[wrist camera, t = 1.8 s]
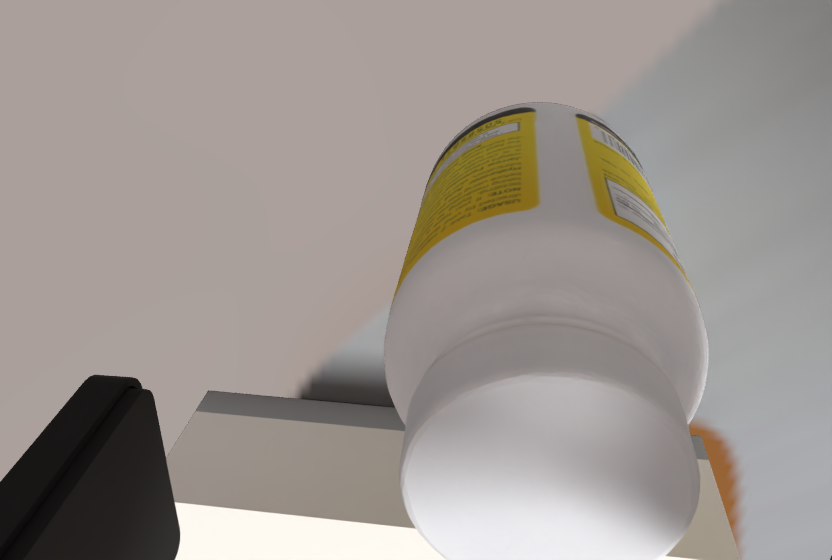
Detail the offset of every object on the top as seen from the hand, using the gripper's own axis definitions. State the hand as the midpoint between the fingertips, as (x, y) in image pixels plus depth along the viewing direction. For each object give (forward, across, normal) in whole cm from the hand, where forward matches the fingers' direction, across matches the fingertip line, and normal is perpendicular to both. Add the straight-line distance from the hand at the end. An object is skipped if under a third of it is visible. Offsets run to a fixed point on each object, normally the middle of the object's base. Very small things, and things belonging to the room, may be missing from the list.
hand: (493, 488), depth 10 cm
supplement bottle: (+10, -1, 0) cm, 10 cm away
